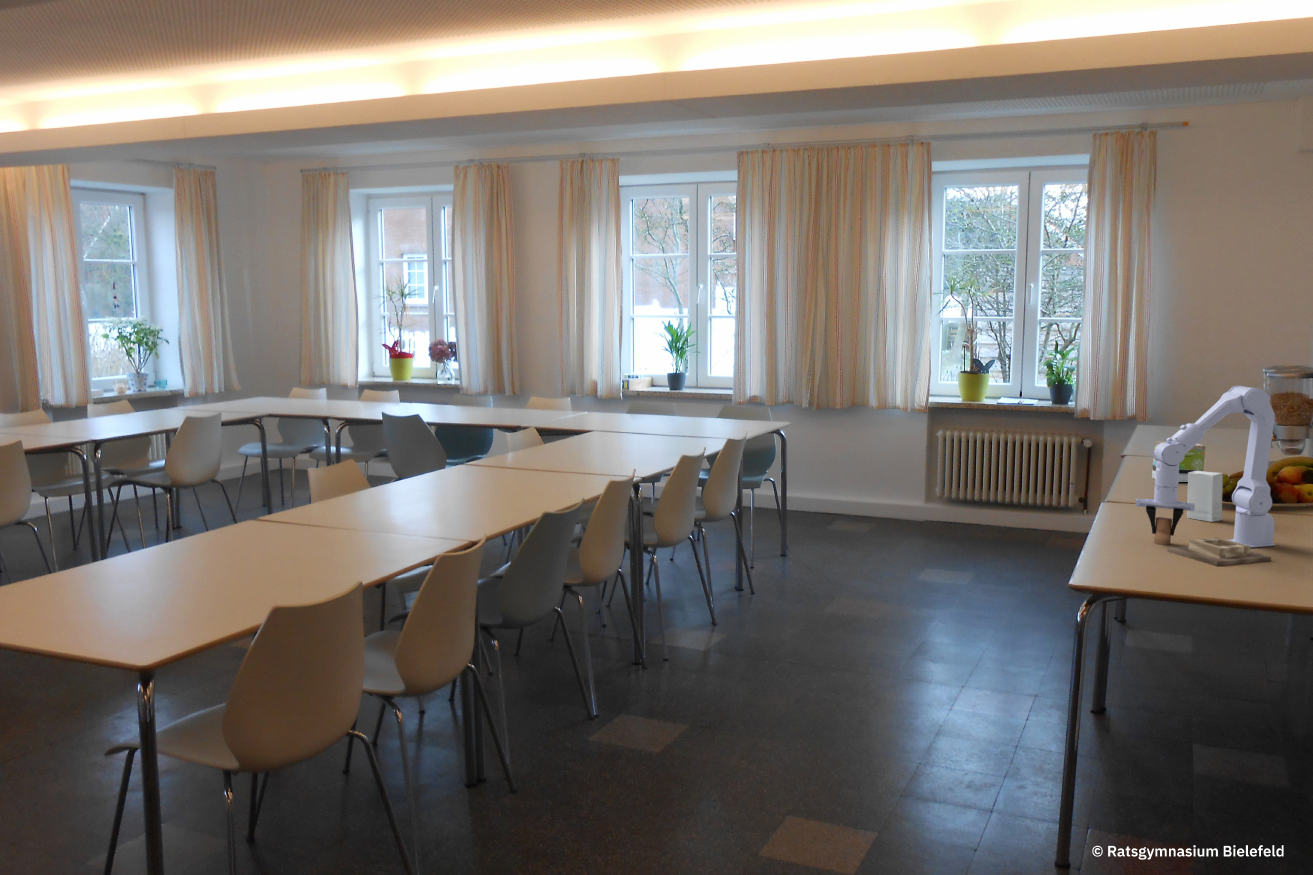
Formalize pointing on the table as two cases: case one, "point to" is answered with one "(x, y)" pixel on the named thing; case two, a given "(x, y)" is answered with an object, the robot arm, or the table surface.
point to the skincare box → (1205, 495)
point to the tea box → (1187, 462)
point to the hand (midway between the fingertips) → (1162, 533)
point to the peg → (1163, 530)
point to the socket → (1219, 552)
